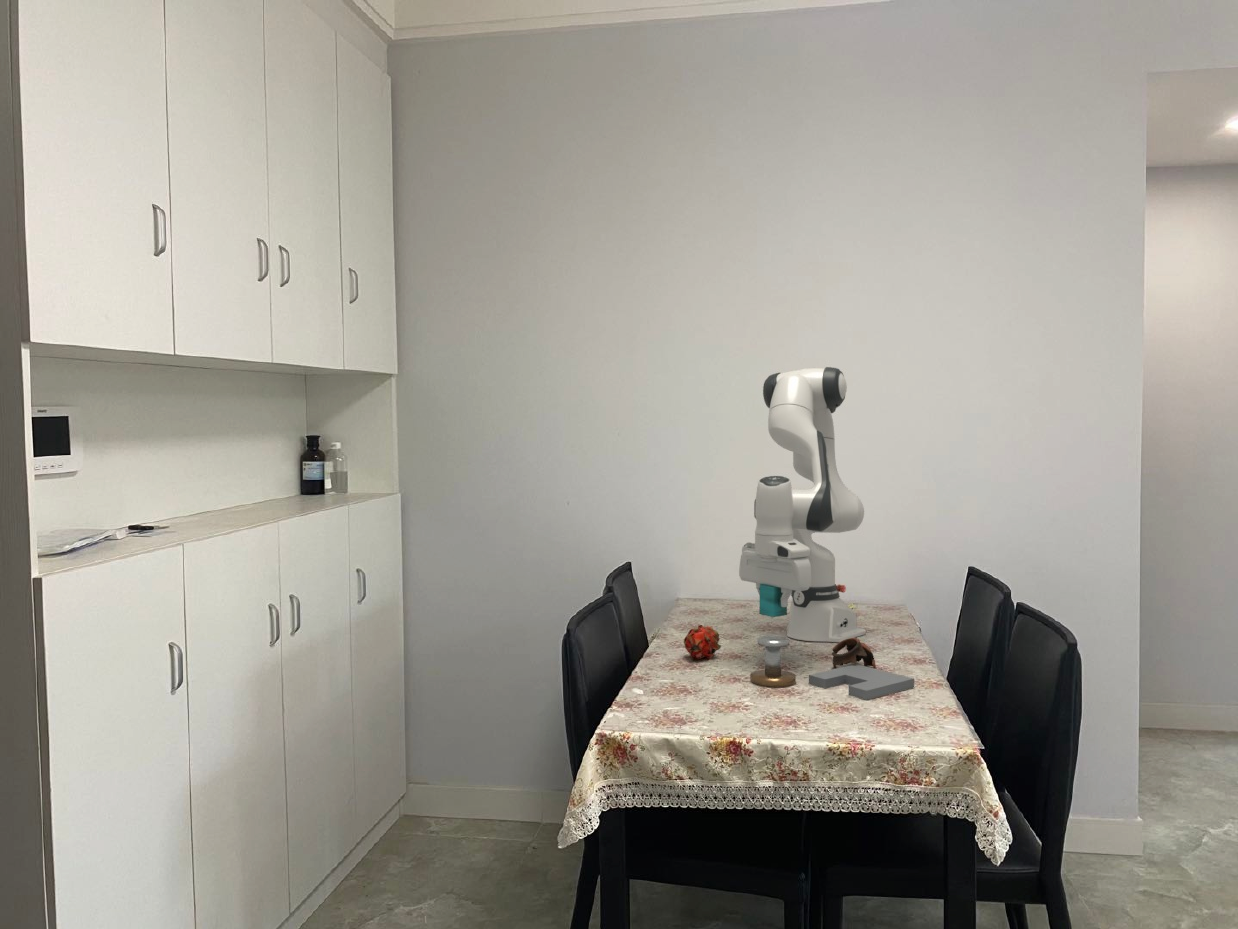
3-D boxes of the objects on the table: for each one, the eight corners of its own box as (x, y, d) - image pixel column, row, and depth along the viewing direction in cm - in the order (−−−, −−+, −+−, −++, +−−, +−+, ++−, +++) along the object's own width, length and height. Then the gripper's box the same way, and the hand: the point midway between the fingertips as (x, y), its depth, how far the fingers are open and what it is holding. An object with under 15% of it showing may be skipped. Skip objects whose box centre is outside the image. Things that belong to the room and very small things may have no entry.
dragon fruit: (713, 658, 251) (697, 676, 240) (686, 637, 253) (669, 654, 242) (731, 634, 247) (716, 651, 237) (704, 612, 249) (687, 629, 239)
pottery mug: (881, 677, 229) (865, 647, 227) (843, 692, 231) (827, 663, 230) (877, 652, 240) (861, 623, 239) (840, 666, 243) (825, 638, 241)
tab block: (772, 611, 238) (773, 582, 237) (786, 614, 234) (787, 585, 234) (759, 614, 235) (759, 584, 235) (773, 617, 231) (773, 587, 231)
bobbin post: (772, 673, 230) (772, 632, 229) (805, 682, 222) (805, 640, 221) (741, 680, 224) (741, 638, 223) (773, 690, 216) (773, 646, 215)
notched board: (856, 672, 231) (856, 664, 230) (914, 687, 218) (914, 678, 218) (808, 683, 221) (808, 674, 221) (866, 700, 208) (866, 690, 208)
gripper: (733, 542, 240) (733, 599, 241) (796, 552, 224) (796, 613, 225) (752, 540, 244) (751, 596, 245) (815, 549, 228) (815, 609, 228)
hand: (773, 604), depth 235 cm, fingers closed on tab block, 4 cm apart
